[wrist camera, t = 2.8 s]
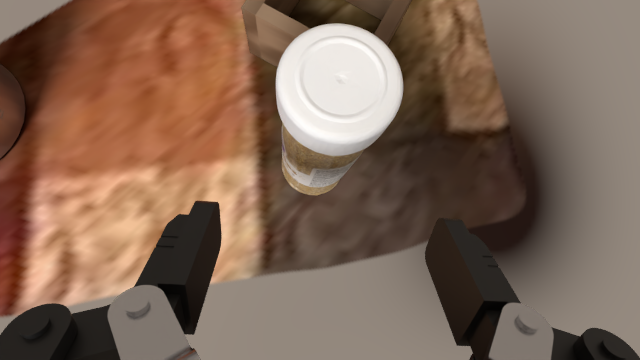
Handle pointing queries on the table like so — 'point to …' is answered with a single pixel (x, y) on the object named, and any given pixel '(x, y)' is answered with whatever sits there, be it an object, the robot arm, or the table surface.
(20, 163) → the table surface
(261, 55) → the open square sleeve
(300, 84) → the sprinkles bottle
